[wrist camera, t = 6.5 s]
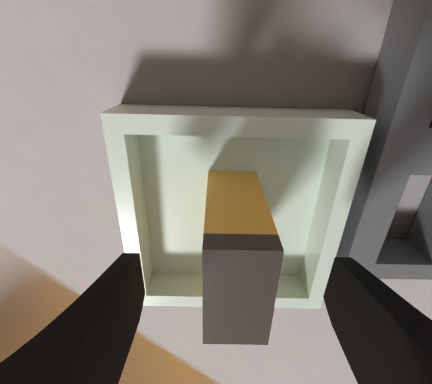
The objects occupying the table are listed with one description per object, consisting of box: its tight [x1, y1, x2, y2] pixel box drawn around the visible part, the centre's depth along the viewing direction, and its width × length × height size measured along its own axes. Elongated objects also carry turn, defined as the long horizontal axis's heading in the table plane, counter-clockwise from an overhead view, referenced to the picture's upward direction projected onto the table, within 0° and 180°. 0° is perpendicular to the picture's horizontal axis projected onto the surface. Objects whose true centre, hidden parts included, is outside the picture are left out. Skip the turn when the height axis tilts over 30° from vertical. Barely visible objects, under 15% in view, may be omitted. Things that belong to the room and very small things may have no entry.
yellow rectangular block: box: [202, 171, 284, 345], centre depth 11 cm, size 2×4×6 cm, turn 179°
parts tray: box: [100, 104, 376, 309], centre depth 13 cm, size 11×11×2 cm
